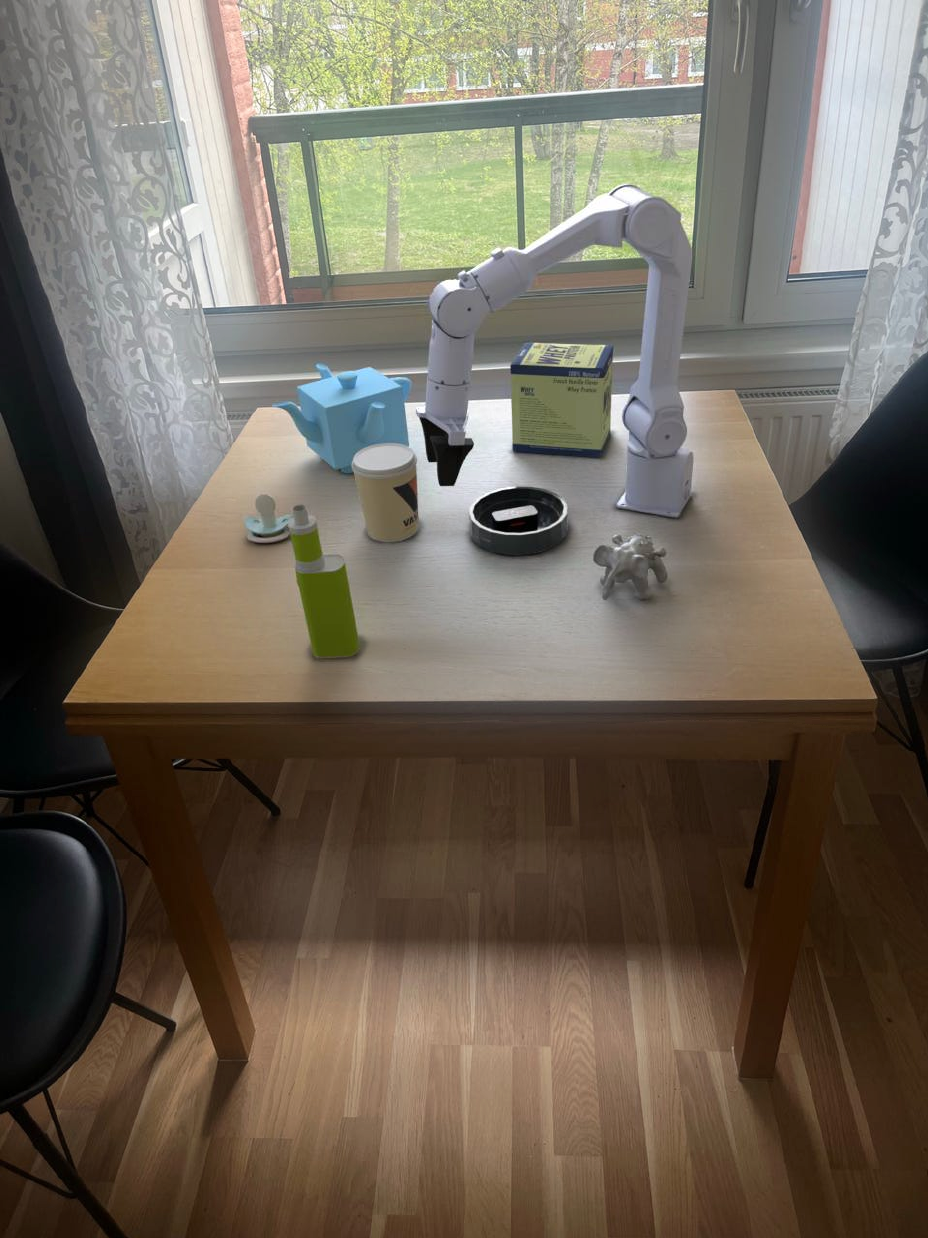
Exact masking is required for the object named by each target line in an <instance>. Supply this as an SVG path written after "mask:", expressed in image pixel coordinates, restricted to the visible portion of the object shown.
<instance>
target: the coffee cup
mask: <svg viewBox="0 0 928 1238" xmlns="http://www.w3.org/2000/svg"><path fill="white" fill-rule="evenodd" d="M417 463H418V458H417V454H416V453H415V452H414V450H413V449H412V448H411V447H410V446H409V447H408V446H405V445H402V444H396V443H383V444H376V445H372V446H369V447H366V448H364V449H362V450H360V451H359V452H357V453H356V454H355V456H354V458H353V461H352V470H353V472H352V473H353V475H354V479H355V485H356V488H357V494H358V498H359V502H360V506H361V510H362V515H363V519H364V523H365V528H366V531H367V534H368V536H369V537H370V538H371V539H372V540H375V541H377V542H380V543H381V542H382V543H397V542H402V541H405V540H407V539H410V538H411V537H413V536H414V535H415V534H416V533H417V532H418V530H419V494H418V474H417V473H418V472H417V471H418V470H417Z"/></svg>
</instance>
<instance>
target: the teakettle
mask: <svg viewBox="0 0 928 1238" xmlns="http://www.w3.org/2000/svg"><path fill="white" fill-rule="evenodd" d="M316 369H317V371H318V373H319V375H320V378H321V379H320V380H316V381H313V382H309V383H306V384H305V383H304V384H301V385H298V386H296V392H297V397H298V402H299V406H298V405H297V404H295V403H294V402H292V401H287V400H286V401H284V400H283V401H279V402H276V403H273V404H272V407H274V408H277V409H282V410H284V411H285V412H287V413H288V415H289V416H290V417H291V419H292V421H293V423H294V425H295V427H296V429H297V430H298V432H299V433H300V434H301V436H302V437H303V438H305V440H306V446H307V447H308V448H310V449H311V450H312V451H313V452H314V453H315V454H316V455H317V456H319V458H322V460H323V461H325V463H327V464H328V465H329V466H330V467H331V468H333V470H339V469H340V471H341V473H345V474H351V473H354V472H353V470H352V461H353V458H354V456H355V454H356V453H357V452H359V451H360V450H362V449H364V448H366V447H369V446H372V445H376V444H383V443H396V444H402V445H405V446H408V447H409V448H410V440H409V432H408V422H407V415H406V413H407V412H406V404H405V402H406V401H407V399H408V397H409V396H410V393H411V390H412V386H413V385H412V384H413V383H412V381H411V379H409V378H408V377H404V376H403V377H401V376H399V377H390V378H389V377H387V376H386V375H384V374H383V373H381V372H380V371H378V370H376V369H375V368H372V367H371V366H368V367H364V368H360V369H357V370H353V371H342V372H340V373H338V374H337V375H333V374H332V372H331V370H330V368H329V367H328V366H327V365H326V364H325V363H324V364H323V363H317V364H316Z"/></svg>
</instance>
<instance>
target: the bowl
mask: <svg viewBox="0 0 928 1238" xmlns="http://www.w3.org/2000/svg"><path fill="white" fill-rule="evenodd" d="M529 505H531V506H534V507H535V509H536V510H537V512H538V530H537V531H531V532H524V533H505V532H500V531H495V530H493V521H492V513H493V512H497V511H502V510H508V509H513V508H518V507H524V506H529ZM468 522H469V532H470V536H471V538H472V539H471V540H472V541H474V543H476V544H477V545H478V546H479V547H481V548H482V549H484V550H486V551H489V552H491V553H495V554H500V555H505V556H525V555H532V554H538V553H542V552H544V551H548V550H550V549H552V548H554V547H555V546H557V545H558V544H561V542H562V541H563V540H564V539H565V537H566V536H567V535H568V529H569V506H568V504H567V502H566V500H565V499H564V498H563V497H562V496H560V495H559V494H557V493H556V492H553V491H551V490H548V489H546V488H543V487H542V488H541V487H535V486H525V485H524V486H523V485H521V486H515V485H514V486H507V487H501V488H498V489H494V490H492V491H488V492H486V493H485V494H482V495H480V496H479V497H477V498H476V499H475V500H474V501H473V503H471V504H470V507H469V511H468Z"/></svg>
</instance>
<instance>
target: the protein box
mask: <svg viewBox="0 0 928 1238" xmlns="http://www.w3.org/2000/svg"><path fill="white" fill-rule="evenodd" d="M613 362H614V345H613V344H611V345H610V344H579V343H578V344H577V343H576V344H574V343H573V344H572V343H547V342H545V343H543V342H525V343H524V344H523V345H522V347H521V348H520V350H519V352H518V353H517V355H516V356H515V358H514V359H513V360H512V361H511V363H510V365H509V366H510V400H511V402H510V403H511V435H512V439H511V440H512V445H511V447H512V449H511V450H512V452H516V453H518V452H519V453H531V454H543V455H558V456H571V457H585V458H598V459H599V458H601V457H602V456H603V453H604V450H605V448H606V445H607V442H608V439H609V437H610V435H611V424H612V423H611V422H612V421H611V420H612V392H613V391H612V390H613V389H612V388H613V366H614V365H613V364H614V363H613Z"/></svg>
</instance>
